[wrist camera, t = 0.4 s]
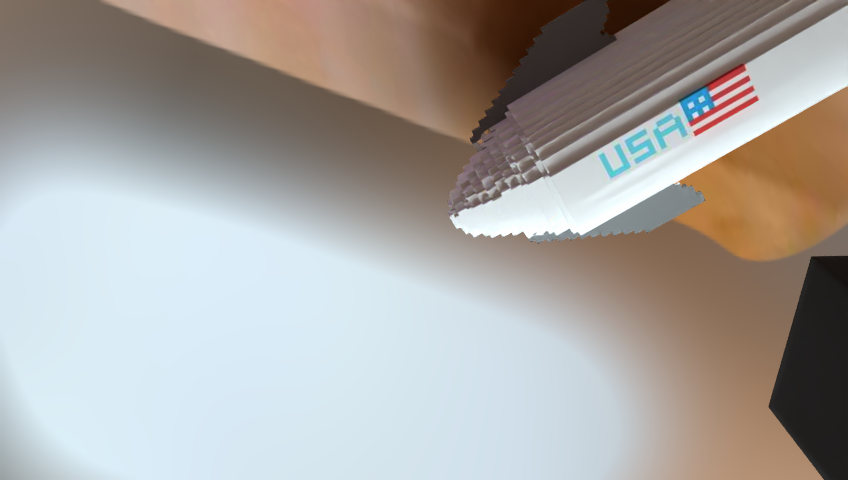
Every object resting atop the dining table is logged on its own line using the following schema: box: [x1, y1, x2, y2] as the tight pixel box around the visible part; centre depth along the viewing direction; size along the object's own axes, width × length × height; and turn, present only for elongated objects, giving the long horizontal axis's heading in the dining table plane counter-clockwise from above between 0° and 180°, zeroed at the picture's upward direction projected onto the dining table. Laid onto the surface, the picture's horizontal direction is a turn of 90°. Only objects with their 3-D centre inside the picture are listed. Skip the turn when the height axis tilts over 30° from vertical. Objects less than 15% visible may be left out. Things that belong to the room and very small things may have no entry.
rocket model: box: [447, 0, 848, 243], centre depth 34 cm, size 14×7×30 cm
